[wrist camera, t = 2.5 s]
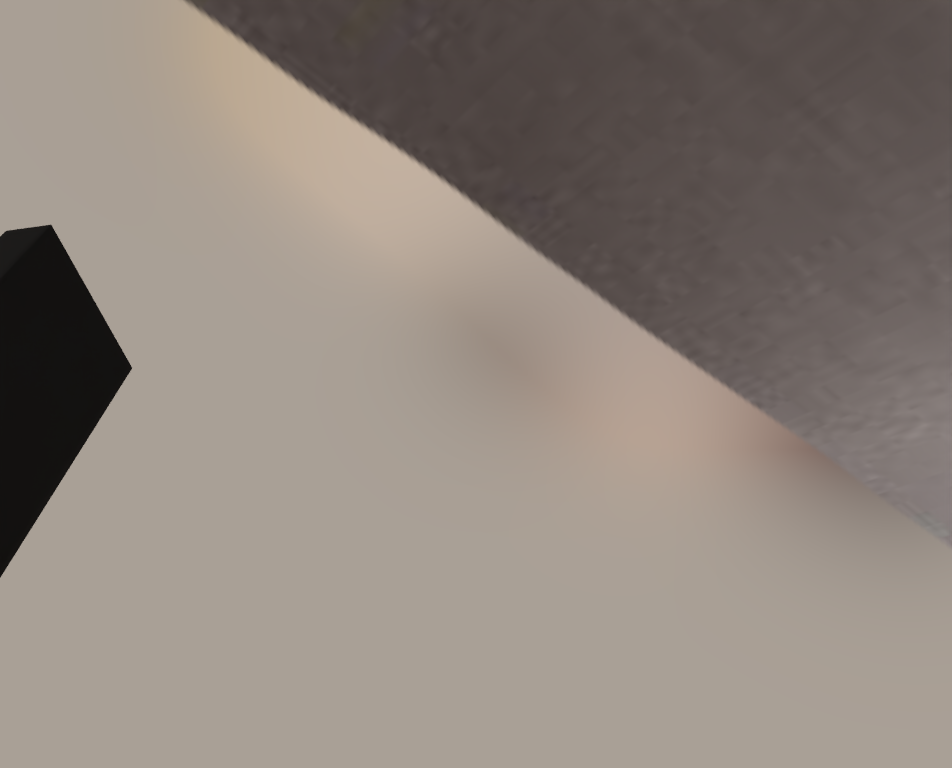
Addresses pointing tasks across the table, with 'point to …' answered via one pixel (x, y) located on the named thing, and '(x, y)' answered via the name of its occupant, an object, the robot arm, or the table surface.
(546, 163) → the table surface
